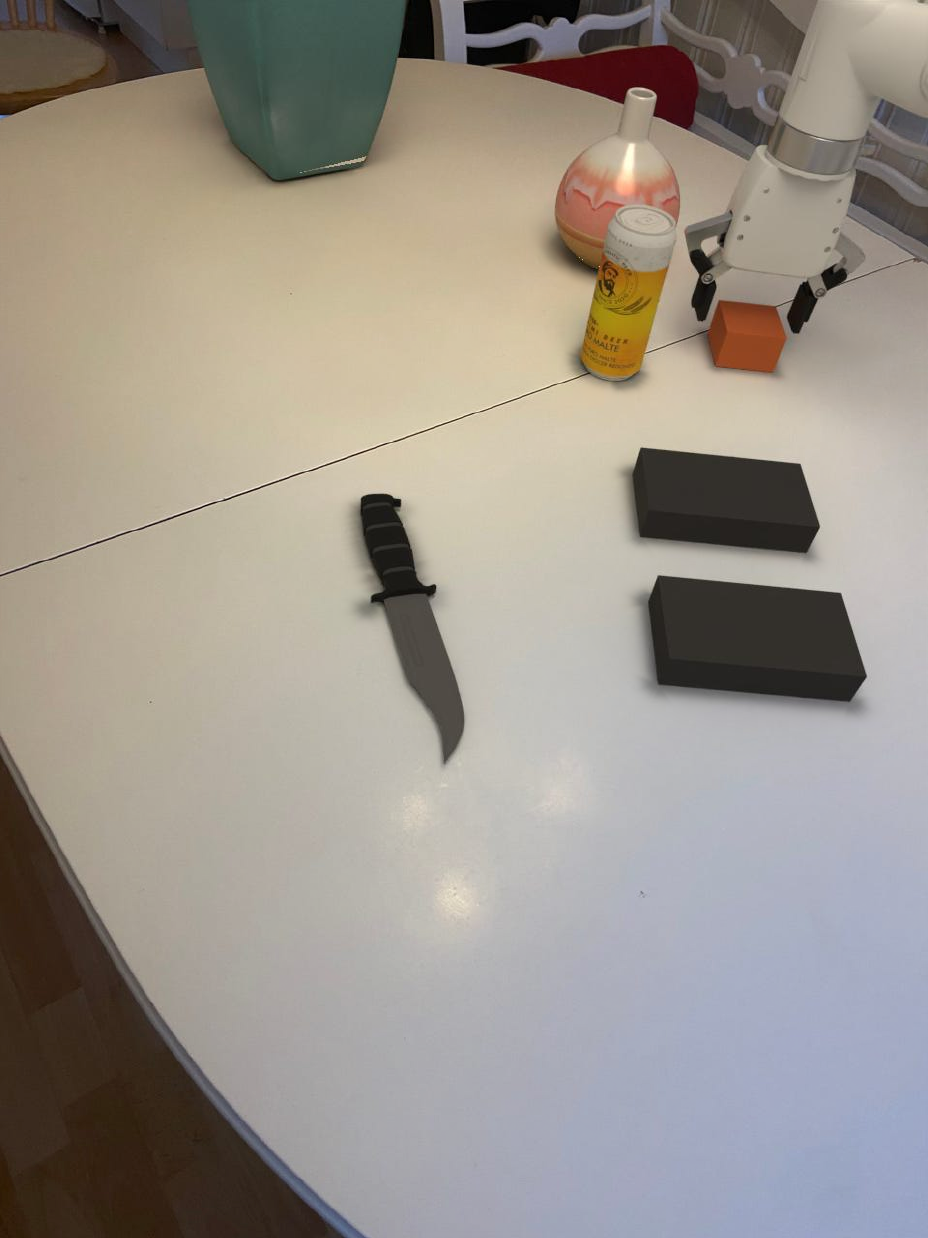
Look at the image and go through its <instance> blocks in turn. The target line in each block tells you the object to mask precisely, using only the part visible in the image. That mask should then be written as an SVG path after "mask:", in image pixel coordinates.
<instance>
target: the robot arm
mask: <svg viewBox="0 0 928 1238" xmlns="http://www.w3.org/2000/svg"><path fill="white" fill-rule="evenodd" d="M881 99H882V100H884V101H886V102H889V103H891V104H893V105H895V106H897V107H898V108H900V109H903V110H905V111H907V112H909V113H911V114H914V115H916V116H919V117H921V118H924V119H927V120H928V0H925V1H924V2H923V3H922V2H919V1H918V0H817V2H816V5H815V7H814V10H813V14H812V16H811V19H810V21H809V24H808V27H807V30H806V33H805V36H804V38H803V42H802V45H801V48H800V50H799V53H798V56H797V59H796V62H795V65H794V68H793V70H792V73H791V76H790V79H789V82H788V85H787V87H786V91H785V94H784V96H783V99H782V101H781V105H780V108H779V111H778V113H777V116H776V119H775V121H774V125H773V127H772V131H771V133H770V135H769V138H768V141H767V144H760V145H758V146H757V147H756V148H755V149H754V151H753V153H752V155H751V156H750V158H749V160H748V162H747V163H746V165H745V168H744V169H743V171H742V173H741V176H740V178H739V180H738V182H737V184H736V186H735V189H734V191H733V193H732V195H731V197H730V200H729V202H728V203H727V207H726V209H725V212H724V213H723V214H719V215H716V216H713V217H711V218H707V219H704V220H702V221H699V222H695V223H692V224H689V225H687V226H686V227H685V228H684V232H683V233H684V237H685V241H686V248H687V251H688V256H689V260H690V263H691V264H692V266H693V268H694V269H695V271H696V273H697V274H698V278H697V281H696V284H695V287H694V290H693V293H692V296H691V300H690V306H691V308H692V309H694V312H695V316H696V320H697V322H702V323H704V321H706V320H707V317H708V315H709V312H710V308H711V306H712V303H713V300H714V297H715V294H716V292H717V288H718V285H717V281H716V280H717V279H718V278H720V277H721V276H723V275H724V274H726V273H727V272H729V271H730V270H732V269H735V270H740V271H744V272H745V271H746V272H754V273H759V274H760V273H761V274H768V275H777V276H783V277H792V278H801V279H802V278H803V279H806V281H802V283H800V284H799V286H798V288H797V291H796V292H795V293H796V294H795V296H794V297H793V299H792V300H793V301H792V303H791V306H789V307H790V308H789V310H788V312H787V314H786V321H787V323H788V325H789V329H790V331H791V332H792V334H795V335H796V334H797V335H799V334H800V333H801V331H802V329H803V326H804V325H805V323H806V324H807V323H808V322H809V321H810V318H811V316H812V314H813V312H814V310H815V307H816V305H817V303H818V300H819V299H822V298H824V297H825V296H826V295H827V292H828V291H830V290H832V289H833V288H835V287H837V286H838V285H841V284H842V283H844V282H845V281H846V280H847V278H848V276H849V275H850V274H852V273H853V272H855V270H856V269H858V268H859V267H860V266H861V265H862V264H863V263H864V262H865V261H866V254H865V253H864V251H863V249H862V248H861V247H860V246H859V245H858V244H856V243H855V241H853V240H852V239H851V238H850V237H848V236H847V234H844V233H843V232H842V229H843V226H844V223H845V220H846V217H847V213H848V211H849V207H850V203H851V198H852V194H853V190H854V186H855V182H856V176H857V170H856V164H857V161H858V159H859V158H860V157H864V156H873V155H874V154H875V152H876V149H877V147H878V139H877V138H872V137H870V136H869V135H868V134H867V133H868V132H867V131H868V129H869V127H870V125H871V123H872V120H873V118H874V115H875V113H876V111H877V108H878V106H879V103H880V101H881ZM714 237H716V244H717V245H719V246H717V247H716V248H715V249H713V250H712V251H710V252H709V253H707V254H706V253H705V252H704V250H703V248H702V243H703V241H705V240H707V239H710V238H714ZM834 251H836V252H838V254H840V255H841V256H842V258H841V259H840V260H839V261H838V262H837V263H834V264H832V265H831V266H829V267H828V268H827V266H828V265H829V263H830V261H831V258H832V256H833V253H834Z"/></svg>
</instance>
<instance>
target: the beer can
mask: <svg viewBox="0 0 928 1238" xmlns="http://www.w3.org/2000/svg"><path fill="white" fill-rule="evenodd" d="M677 238H678V237H677V230H676V228H675V220H674V218H673V217H672V216H671V215H670V214H668V213H667V212H665V211H663V210H661V209H658V208H655V207H652V206H647V205H627V206H623V207H621V208H619V209H618V210H617V211H616V214H615V216H614V217H613V219H612V220H611V221H610V222H609V225H608V230H607V234H606V239H605V244H604V248H603V253H602V257H601V262H600V267H599V270H598V271H597V276H596V281H595V285H594V290H593V294H592V298H591V299H592V300H591V304H590V308H589V312H588V318H587V322H586V328H585V331H584V336H583V341H582V345H581V351H580V360H581V362H582V363H583V364H584V367H585V369H586V370H587V371H588V372H589V373H590V374H591V375H593V376H594V377H596V378H598V379H601V380H605V381H610V382H620V381H625V380H627V379H629V378H631V377H632V376H633V375H634V374H636V373H638V372H639V371H640V369H642V365H643V362H644V361H643V360H644V358H645V354H646V351H647V346H648V343H649V339H650V336H651V332H652V329H653V325H654V321H655V318H656V314H657V310H658V306H659V303H660V299H661V295H662V293H663V288H664V285H665V282H666V277H667V274H668V271H669V268H670V264H671V260H672V256H673V253H674V249H675V245H676V241H677Z"/></svg>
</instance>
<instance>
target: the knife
mask: <svg viewBox="0 0 928 1238" xmlns="http://www.w3.org/2000/svg"><path fill="white" fill-rule="evenodd" d="M401 507H402V498H395V497H394V496H393V495H391V494H389V493H368V494H365V495H363V496H361V497H360V516H361V524H362V525H361V526H362V534H363V537H364V542H365V544H366V548H367V551H368V553H369V554H368V555H369V558H370V559H371V563H372V565H373V568H374V569H375V572H376V573H377V575H378V577H379V579H380V581H381V585H382V586H383V587H384V590H382V591H380V592H376V593H373V594H372V595H371V596H370V604H372V603H384V606H385V609H386V612H387V616H388V619H389V622H390V625H391V628H392V633H393V635H394V639H395V642H396V646H397V648H398V651H399V655H400V657H401V661H402V665H403V668H404V671H405V674H406V677H407V680H408V681H409V682H410V684H411V685H412V686H413V687H414V688H415V690H417V692H418V693H419V694H420V696H421V697H422V699H423V700H424V701H425V702H426V704H427V705H428V706H429V707H430V709H431V711H432V712H433V714H434V716H435V718H436V720H437V723H438V725H439V728H440V731H441V739H442V756H443V765H445V764H446V763H447V761H448V760H449V758H450V757H451V755H452V754H453V752H454V751H455V750H456V748H457V746H458V744H459V743H460V741H461V738H462V737H463V733H464V729H465V711H464V705H463V700H462V696H461V691H460V687H459V684H458V681H457V677H456V675H455V672H454V669H453V666H452V663H451V660H450V658H449V654H448V652H447V648H446V646H445V643H444V640H443V636H442V635H441V631H440V629H439V626H438V622H437V619H436V617H435V614H434V611H433V608H432V606H431V602H430V600H429V597H430V596H433V595H435V594H436V593H437V585H436V584H435V583H433V584H431V585H424V584H423V583H422V582H421V581H420V580H419V579H418V577H417V571H416V566H415V560H414V554H413V553H414V552H413V549H412V548H411V547H412V546H411V543H410V541H409V537H408V534H407V531H406V528H405V527H404V523H403V521H402V519H401V518H400V516H399V514H398V512H397V510H396V508H401Z"/></svg>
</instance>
